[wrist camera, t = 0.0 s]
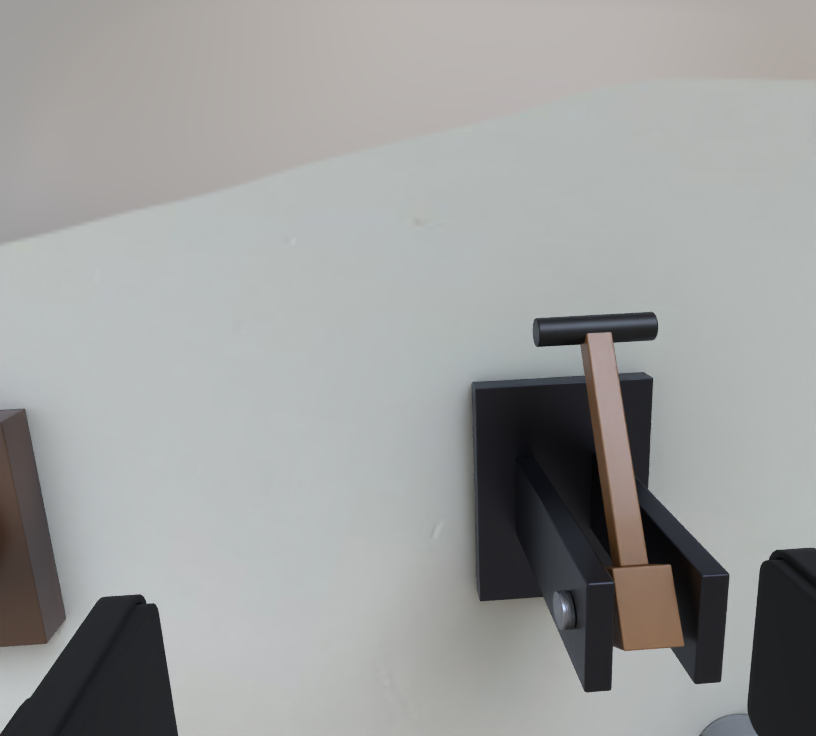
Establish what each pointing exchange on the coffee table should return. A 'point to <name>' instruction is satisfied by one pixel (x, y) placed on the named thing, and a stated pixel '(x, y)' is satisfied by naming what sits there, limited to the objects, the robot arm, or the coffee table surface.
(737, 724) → the cup
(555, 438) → the bracket
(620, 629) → the lever
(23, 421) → the button box
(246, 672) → the coffee table surface
